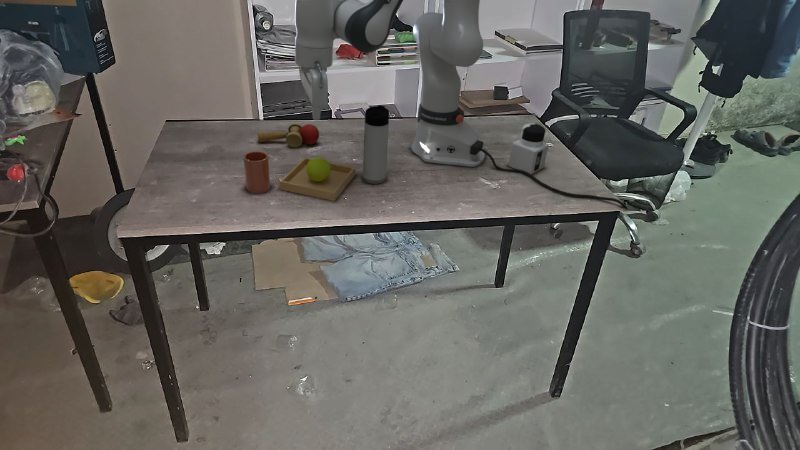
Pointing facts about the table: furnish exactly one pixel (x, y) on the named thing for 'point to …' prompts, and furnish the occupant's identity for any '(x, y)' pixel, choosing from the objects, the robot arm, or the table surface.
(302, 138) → the kendama
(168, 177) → the table surface
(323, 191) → the tray
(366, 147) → the travel mug
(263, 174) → the cup
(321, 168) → the tennis ball
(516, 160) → the container
